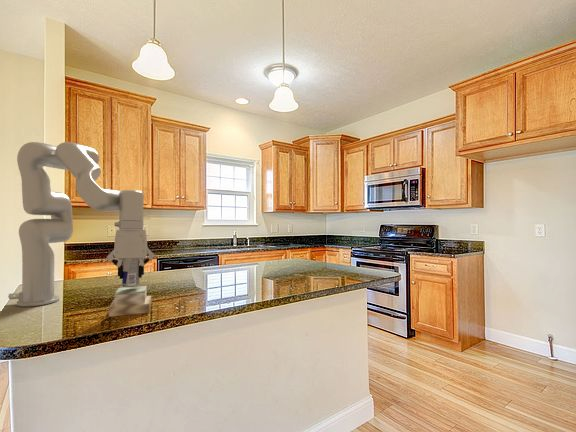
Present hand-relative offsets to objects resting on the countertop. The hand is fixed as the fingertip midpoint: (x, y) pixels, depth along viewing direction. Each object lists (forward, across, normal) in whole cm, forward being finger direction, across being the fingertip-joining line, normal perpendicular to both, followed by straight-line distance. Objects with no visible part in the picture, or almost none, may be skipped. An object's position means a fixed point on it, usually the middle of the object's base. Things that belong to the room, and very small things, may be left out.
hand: (131, 277), depth 109 cm
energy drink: (+3, 0, 0) cm, 3 cm away
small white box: (+11, 0, 0) cm, 11 cm away
